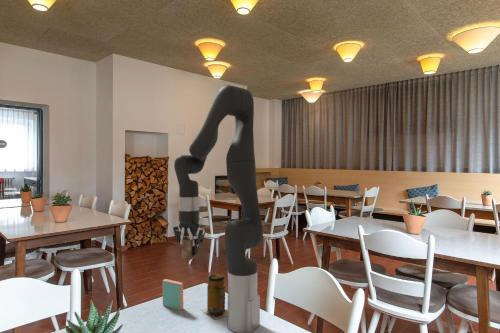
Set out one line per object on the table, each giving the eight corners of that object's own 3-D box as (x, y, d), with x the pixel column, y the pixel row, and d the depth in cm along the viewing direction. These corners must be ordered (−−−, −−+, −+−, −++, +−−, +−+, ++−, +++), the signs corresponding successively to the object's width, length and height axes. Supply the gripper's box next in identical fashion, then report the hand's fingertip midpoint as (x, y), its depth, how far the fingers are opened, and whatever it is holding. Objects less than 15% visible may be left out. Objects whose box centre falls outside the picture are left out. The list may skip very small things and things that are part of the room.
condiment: (219, 304, 116) (219, 271, 115) (233, 313, 109) (233, 278, 109) (201, 310, 111) (201, 276, 111) (215, 320, 104) (215, 283, 104)
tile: (183, 308, 113) (183, 282, 112) (180, 310, 111) (180, 284, 111) (165, 303, 116) (165, 278, 116) (162, 305, 115) (162, 280, 115)
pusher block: (197, 257, 121) (196, 238, 121) (190, 259, 117) (190, 240, 117) (188, 255, 123) (188, 237, 123) (181, 258, 119) (181, 239, 119)
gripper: (210, 208, 120) (211, 254, 120) (180, 206, 126) (180, 250, 127) (198, 211, 113) (198, 260, 113) (167, 208, 120) (167, 255, 120)
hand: (189, 254), depth 120 cm, fingers closed on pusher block, 4 cm apart
